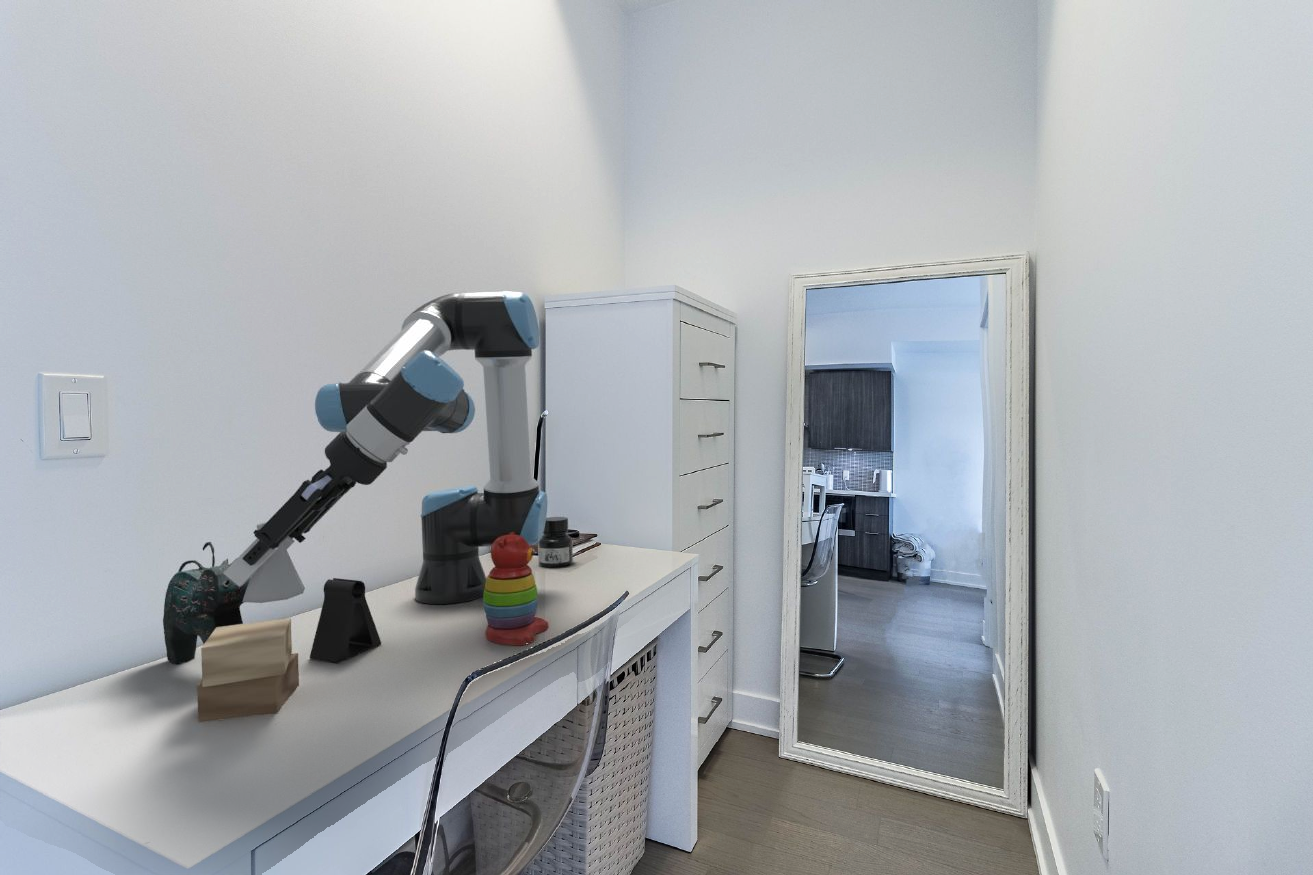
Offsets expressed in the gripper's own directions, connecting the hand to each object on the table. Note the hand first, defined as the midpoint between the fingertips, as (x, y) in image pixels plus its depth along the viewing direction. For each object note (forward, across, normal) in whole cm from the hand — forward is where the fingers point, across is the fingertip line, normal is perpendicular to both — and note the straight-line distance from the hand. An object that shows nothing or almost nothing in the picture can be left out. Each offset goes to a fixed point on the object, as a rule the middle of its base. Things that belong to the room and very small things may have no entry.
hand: (242, 574), depth 84 cm
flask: (0, 0, -5) cm, 5 cm away
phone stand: (+9, +19, -17) cm, 27 cm away
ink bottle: (-14, +77, -40) cm, 88 cm away
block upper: (+9, +1, -9) cm, 13 cm away
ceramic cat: (+23, +15, -3) cm, 27 cm away
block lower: (+13, +1, -13) cm, 18 cm away
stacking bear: (-10, +23, -36) cm, 44 cm away
